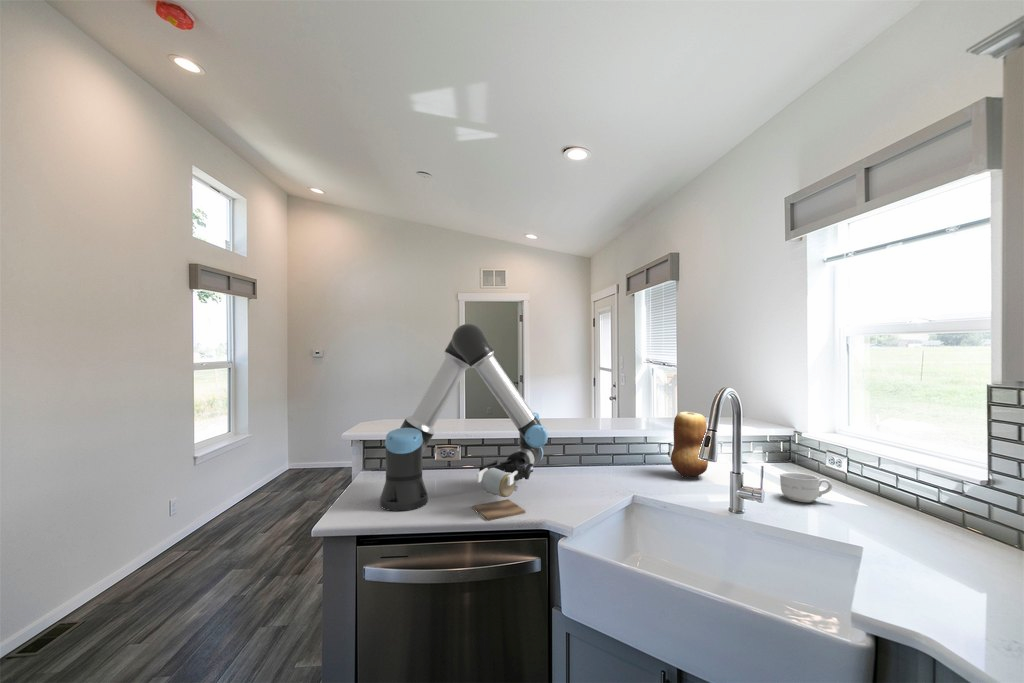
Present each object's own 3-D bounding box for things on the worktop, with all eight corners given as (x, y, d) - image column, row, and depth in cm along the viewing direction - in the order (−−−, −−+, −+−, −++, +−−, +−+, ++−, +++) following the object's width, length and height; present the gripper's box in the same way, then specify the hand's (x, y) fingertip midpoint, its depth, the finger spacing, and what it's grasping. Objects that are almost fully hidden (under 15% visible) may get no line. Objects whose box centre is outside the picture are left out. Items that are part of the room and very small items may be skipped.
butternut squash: (708, 483, 158) (706, 415, 159) (669, 479, 164) (668, 413, 165) (708, 474, 171) (707, 410, 171) (672, 470, 176) (671, 409, 177)
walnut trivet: (472, 508, 135) (472, 505, 135) (508, 501, 141) (508, 499, 141) (487, 520, 125) (487, 517, 125) (525, 513, 130) (525, 510, 130)
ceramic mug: (500, 500, 127) (500, 474, 128) (481, 495, 133) (481, 470, 133) (524, 492, 135) (524, 468, 136) (505, 487, 141) (505, 463, 141)
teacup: (776, 500, 140) (776, 475, 140) (784, 492, 148) (783, 468, 148) (829, 510, 130) (828, 483, 131) (834, 501, 138) (833, 476, 139)
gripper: (551, 475, 145) (527, 496, 125) (491, 470, 154) (460, 488, 133) (550, 453, 145) (527, 469, 125) (491, 448, 154) (460, 463, 133)
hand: (492, 479), depth 129 cm, fingers closed on ceramic mug, 9 cm apart
